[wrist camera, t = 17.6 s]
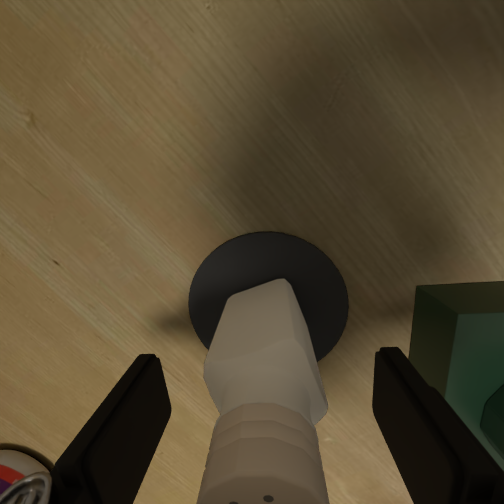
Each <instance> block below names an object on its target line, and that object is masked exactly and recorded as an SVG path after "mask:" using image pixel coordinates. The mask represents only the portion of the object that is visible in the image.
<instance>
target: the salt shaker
mask: <svg viewBox="0 0 504 504" xmlns="http://www.w3.org/2000/svg"><path fill="white" fill-rule="evenodd" d="M204 380H205V383H206V385H207V388H208V390H209V393H210V395H211V397H212V399H213V401H214V403H215V405H216V407H217V409H218V411H219V413H220V416H219V418H218V419H217V420H216V424H215V427H214V430H213V434H212V439H211V443H210V448H209V450H210V451H209V453H208V456H207V461H206V465H205V467H206V469H205V471H204V474H203V478H202V482H201V487H200V491H199V495H198V500H197V504H329V499H328V493H327V488H326V483H325V477H324V472H323V469H322V461H321V456H320V452H319V445H318V437H317V433H316V429H315V426H314V425H315V424H317V423H318V422H319V421H320V420H321V419H322V418H323V416H324V415H325V414H326V412H327V409H328V403H327V399H326V395H325V391H324V388H323V384H322V380H321V376H320V372H319V369H318V365H317V361H316V357H315V354H314V350H313V346H312V342H311V339H310V335H309V331H308V327H307V324H306V322H305V319H304V317H303V314H302V312H301V309H300V307H299V304H298V302H297V299H296V297H295V294H294V292H293V289H292V287H291V285H290V284H289V283H288V282H287V281H286V280H285V279H276V280H273V281H270V282H268V283H265V284H262V285H259V286H256V287H253V288H251V289H248V290H245V291H242V292H239V293H236V294H234V295H232V296H231V297H230V298H229V299H228V300H227V302H226V305H225V308H224V310H223V313H222V316H221V318H220V321H219V324H218V327H217V329H216V332H215V335H214V337H213V340H212V343H211V345H210V348H209V351H208V354H207V356H206V359H205V362H204Z"/></svg>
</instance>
